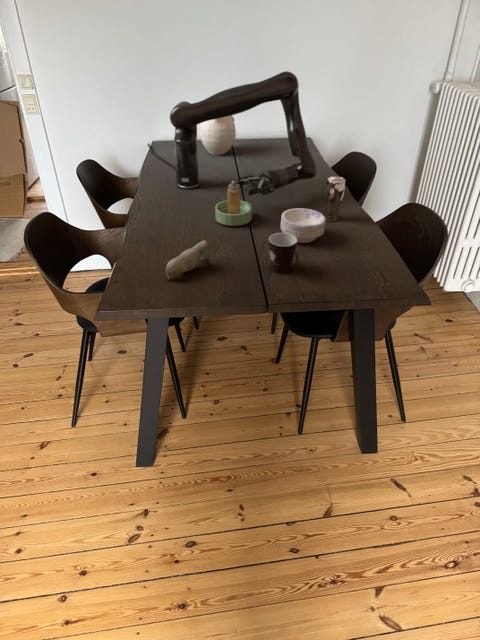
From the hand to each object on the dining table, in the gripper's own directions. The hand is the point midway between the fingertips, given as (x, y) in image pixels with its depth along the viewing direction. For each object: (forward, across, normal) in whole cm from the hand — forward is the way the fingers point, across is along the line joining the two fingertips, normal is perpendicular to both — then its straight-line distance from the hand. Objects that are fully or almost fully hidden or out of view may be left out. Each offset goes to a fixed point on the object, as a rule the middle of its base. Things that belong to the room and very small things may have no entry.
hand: (241, 189), depth 158 cm
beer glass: (-26, +22, +11) cm, 36 cm away
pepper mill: (+4, 0, +10) cm, 11 cm away
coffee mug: (+15, +38, +11) cm, 42 cm away
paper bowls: (-6, +26, +11) cm, 29 cm away
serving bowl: (+4, 0, +11) cm, 12 cm away
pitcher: (-41, -70, +11) cm, 82 cm away
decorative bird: (+38, +20, +11) cm, 44 cm away
